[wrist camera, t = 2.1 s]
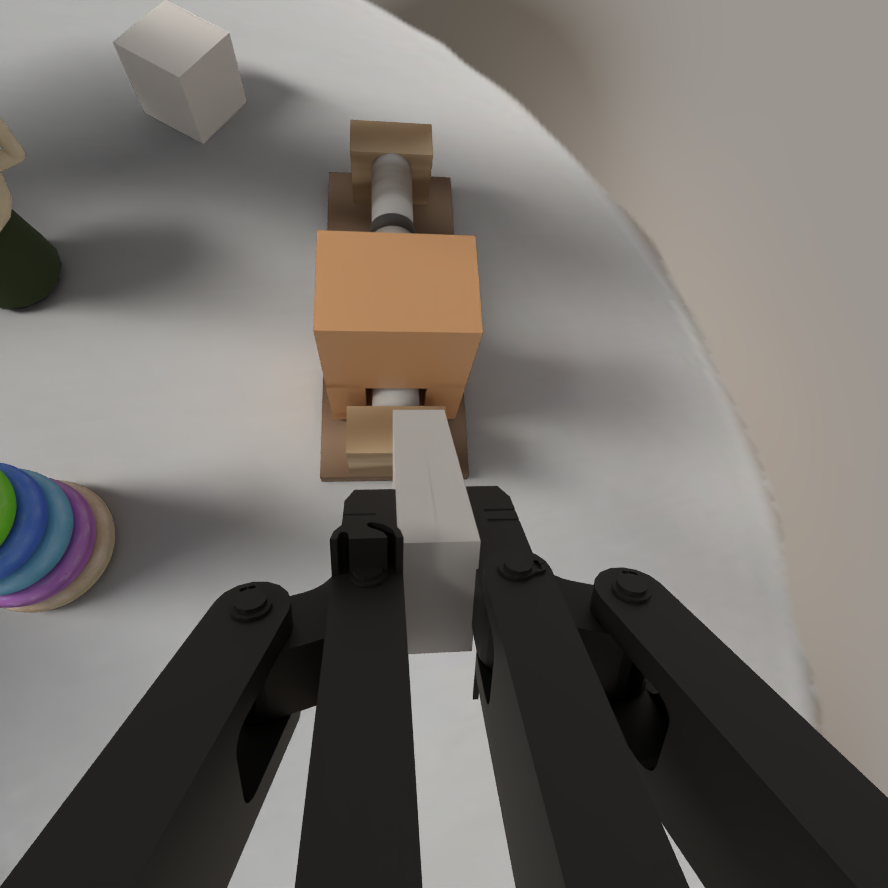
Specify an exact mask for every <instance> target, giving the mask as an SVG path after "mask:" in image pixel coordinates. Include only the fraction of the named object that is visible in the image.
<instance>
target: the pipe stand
mask: <svg viewBox="0 0 888 888" xmlns="http://www.w3.org/2000/svg"><path fill="white" fill-rule="evenodd" d="M350 156H351V171H352V173H338V172H329V196H328V229H327V231H354V232H383V233H412V234H441V235H454V230H453V214H452V198H451V182H450V178H447V177H431V169H432V160H433V146H432V126H431V124H415V123H397V122H380V121H362V120H351V127H350ZM393 410H445V414H446V406H419V388H372V406H347V418H346V419H333V416H332V412H331V407H330V403H329V398H328V394H327V389H326V385H325V380H324V376H323V399H322V433H321V467H320V478H321V481H387V480H393ZM447 421H448V425H449V428H450V432H451V436H452V439H453V443H454V447H455V450H456V454H457V457H458V461H459V465H460V468H461V472H462V476H463V479H467V478H468V476H469V471H468V455H467V439H466V423H465V407H464V393H463V396H462V399H461V402H460V405H459V408H458V411H457V414H456V417H455V419H447Z"/></svg>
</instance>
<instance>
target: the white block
mask: <svg viewBox="0 0 888 888" xmlns="http://www.w3.org/2000/svg"><path fill="white" fill-rule="evenodd" d="M113 44H114V46H115V48H116V50H117V53H118V55H119V57H120V59H121V61H122V64H123V66H124V68H125V70H126V73H127V75H128V77H129V79H130V81H131V84H132V86H133V88H134V90H135V93H136V95H137V97H138V99H139V101H140V104H141V106H142V108H143V110H144V112H145V113H146V114H148V115H150V116H152V117H154V118H156V119H157V120H159V121H161V122H163V123H165V124H167V125H169V126H170V127H172V128H174V129H176V130H178V131H180V132H182V133H183V134H185V135H187V136H189V137H191V138H193V139H194V140H196V141H198V142H200V143H202V144H204V143H205V142H206V141H207V140H208V139H209V138H210V137H211V136H212V135H213V134H214V133H215V132H216V131H217V130H218V129H220V128H221V127H222V126H223V125H224V124H225V123H226V122H227V121H228V120H229V119H230V118H231V117H232V116H233V115H234V114H235V113H236V112H237V111H238V110H239V109H240V108H241V107H242V106H243V105H244V104H245V103H246V102H247V101H246V97H245V93H244V89H243V85H242V81H241V77H240V73H239V69H238V65H237V61H236V57H235V53H234V49H233V45H232V41H231V37H230V33H229V32H227V31H225V30H223V29H222V28H220V27H218V26H216V25H214V24H212V23H210V22H208V21H206V20H204V19H202V18H200V17H198V16H197V15H195V14H193V13H191V12H189V11H187V10H185V9H183V8H181V7H179V6H177V5H175V4H173V3H171V2H170V1H168V0H164V1H163V2H162V3H160V4H159V5H158V6H157V7H155V8H154V9H153V10H152V11H150V12H149V13H148V14H147V15H146V16H144V17H143V18H142V19H141V20H139V21H138V22H137V23H136V24H134V25H133V26H132V27H131V28H130V29H128V30H127V31H126V32H125V33H123V34H122V35H121V36H120V37H119V38H117V39H116V40H115V41H114V42H113Z"/></svg>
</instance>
